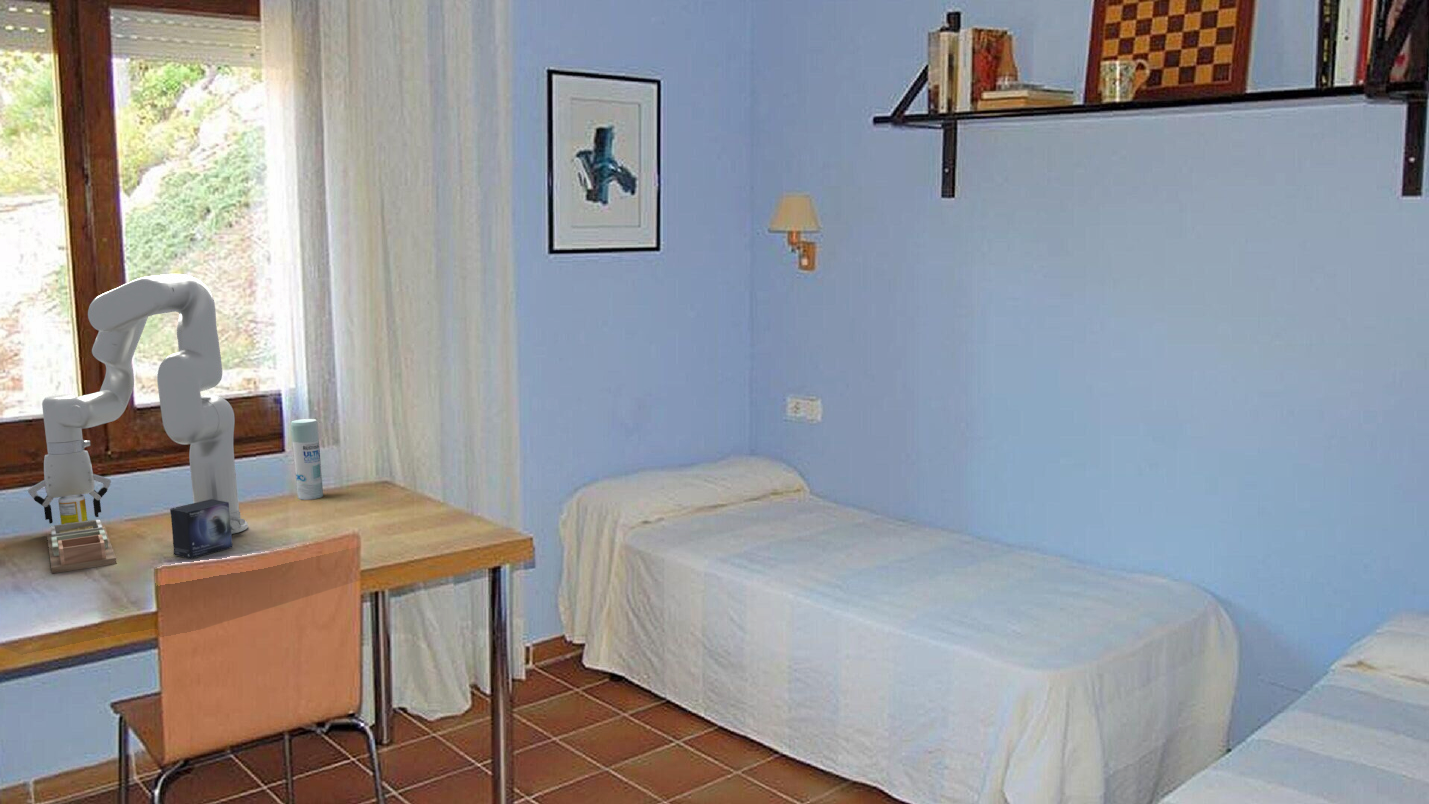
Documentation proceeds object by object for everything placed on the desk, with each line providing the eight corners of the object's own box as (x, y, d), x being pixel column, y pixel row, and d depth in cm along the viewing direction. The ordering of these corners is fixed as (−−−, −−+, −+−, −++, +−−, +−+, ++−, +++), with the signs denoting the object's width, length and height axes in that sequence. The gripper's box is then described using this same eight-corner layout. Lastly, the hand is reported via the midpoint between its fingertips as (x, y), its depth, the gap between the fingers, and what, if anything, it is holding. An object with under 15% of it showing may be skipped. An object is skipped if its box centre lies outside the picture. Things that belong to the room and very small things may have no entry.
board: (116, 563, 257) (114, 541, 256) (52, 573, 251) (49, 551, 250) (105, 531, 286) (102, 511, 285) (47, 539, 280) (44, 519, 279)
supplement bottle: (82, 526, 291) (77, 485, 290) (92, 529, 288) (87, 487, 286) (58, 531, 287) (52, 489, 285) (68, 535, 283) (62, 492, 282)
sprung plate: (94, 535, 275) (94, 531, 275) (61, 540, 272) (60, 536, 272) (93, 529, 281) (92, 525, 281) (59, 533, 278) (59, 530, 278)
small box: (191, 559, 258) (186, 511, 256) (172, 556, 261) (167, 508, 260) (234, 547, 267) (229, 500, 265) (215, 544, 270) (211, 498, 268)
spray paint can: (308, 500, 310) (301, 423, 307) (292, 498, 314) (285, 422, 311) (329, 495, 316) (322, 419, 313) (312, 493, 319) (306, 418, 316)
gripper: (105, 441, 292) (113, 510, 294) (23, 450, 283) (31, 521, 286) (107, 445, 285) (115, 516, 288) (23, 455, 277) (32, 528, 279)
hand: (74, 519), depth 287 cm, fingers open, 9 cm apart
